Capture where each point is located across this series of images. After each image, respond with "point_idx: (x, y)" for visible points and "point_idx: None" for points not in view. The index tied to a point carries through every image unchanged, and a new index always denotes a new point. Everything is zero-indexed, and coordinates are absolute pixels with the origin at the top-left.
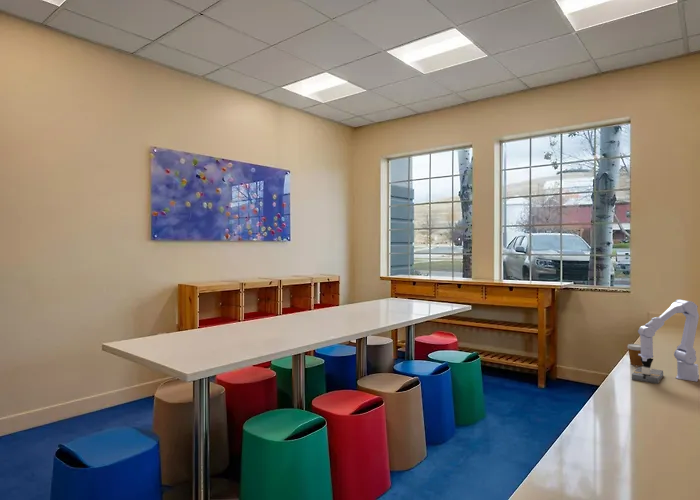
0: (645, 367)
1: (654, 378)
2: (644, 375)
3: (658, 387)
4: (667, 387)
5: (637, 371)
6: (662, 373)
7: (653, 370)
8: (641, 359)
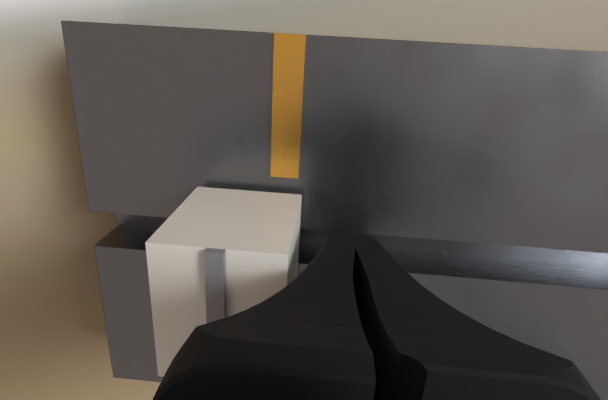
0: (202, 310)
1: (112, 338)
2: None
3: (6, 332)
4: (79, 397)
5: (360, 94)
6: None
7: (587, 324)
8: (159, 390)
